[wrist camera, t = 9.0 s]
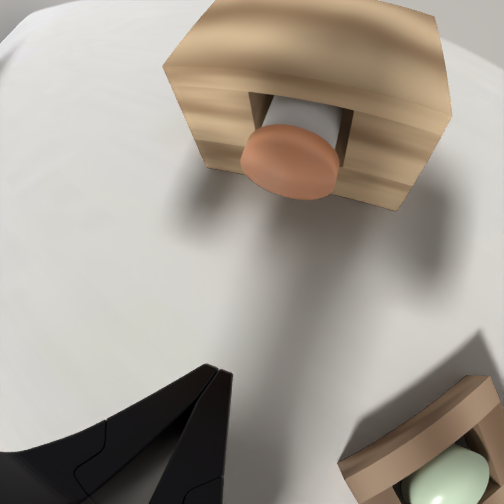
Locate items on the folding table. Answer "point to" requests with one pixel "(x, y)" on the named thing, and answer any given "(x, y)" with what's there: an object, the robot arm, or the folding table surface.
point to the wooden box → (319, 84)
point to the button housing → (433, 443)
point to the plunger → (295, 149)
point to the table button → (448, 479)
